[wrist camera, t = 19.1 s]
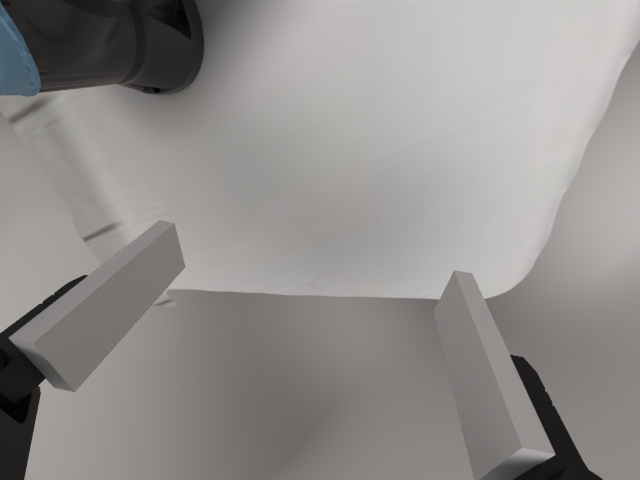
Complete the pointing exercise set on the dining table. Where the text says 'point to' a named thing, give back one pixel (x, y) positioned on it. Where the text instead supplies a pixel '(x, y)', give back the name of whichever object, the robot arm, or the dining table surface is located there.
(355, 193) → the dining table surface
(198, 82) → the dining table surface
